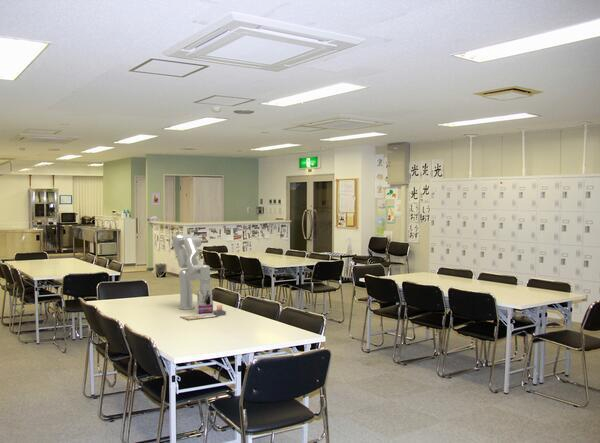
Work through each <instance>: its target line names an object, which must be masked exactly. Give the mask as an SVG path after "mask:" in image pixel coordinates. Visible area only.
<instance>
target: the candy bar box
mask: <svg viewBox="0 0 600 443" xmlns="http://www.w3.org/2000/svg"><path fill="white" fill-rule="evenodd" d="M196 294H197V314H205V313H211V314H213V311H214V299H213V297H214V296H213V291H212V290H210V294H211V297H210V305H206V296H205V297H203V293H202V292H200V291H198V292H197V293H196Z"/></svg>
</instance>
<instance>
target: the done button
mask: <svg viewBox="0 0 600 443" xmlns="http://www.w3.org/2000/svg"><path fill="white" fill-rule="evenodd" d="M216 310H217V312H220V311H222V310H223V305H222V304H217V305H216Z"/></svg>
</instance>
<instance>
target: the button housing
mask: <svg viewBox="0 0 600 443" xmlns="http://www.w3.org/2000/svg"><path fill="white" fill-rule="evenodd" d="M212 314H214V315H216V316H218V317H220V316H226V315H227V311H226V310H224V309H222V311H220V312H217V309H215V310H214V309H213V313H212Z"/></svg>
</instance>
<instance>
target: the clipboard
mask: <svg viewBox="0 0 600 443" xmlns="http://www.w3.org/2000/svg"><path fill="white" fill-rule="evenodd" d="M179 317H180V318H181V319H183V320H184V321H187V322H188V321H196V320H203V319H205V320H206V319H213V318H219V316H216V315H214V314H213V313H205V314H198V313H197V314H190V315H181V316H179Z"/></svg>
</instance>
